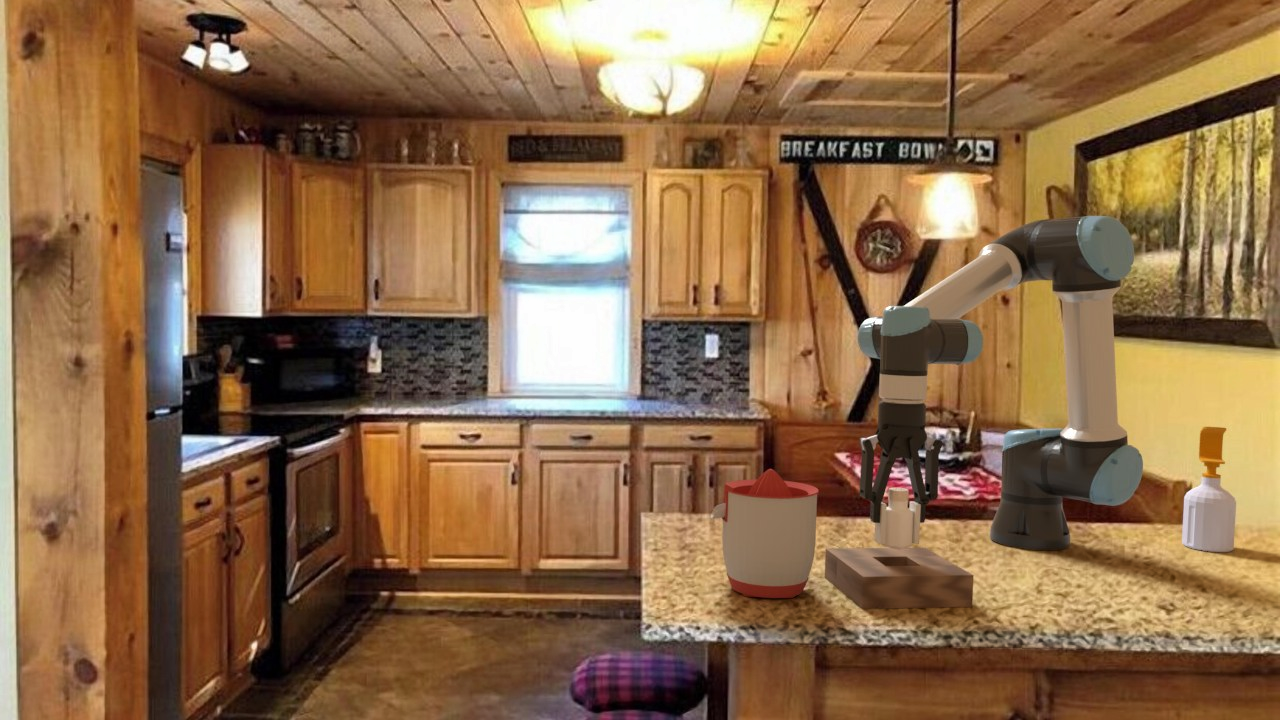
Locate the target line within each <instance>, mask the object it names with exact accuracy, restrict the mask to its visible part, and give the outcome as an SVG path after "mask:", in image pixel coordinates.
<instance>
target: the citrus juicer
mask: <svg viewBox="0 0 1280 720" xmlns="http://www.w3.org/2000/svg"><path fill="white" fill-rule="evenodd" d="M723 491H724V493H723V503H721V504H717V505H716V506H714V507H713V510H712V512H711V514H710V519H711V520H714V519H721V520H722V532H721V535H722V537H721V538H722V540H721V542H722V553H723V554H722V555H723V561H724V566H725V569H726V577H727V578H728V581H729V584H730V586H731V588H732V589H733V590H734V591H736V592H737V593H740V594H742V595H743V596H744V597H749V598H753V597H756V598H765V599H780V598H781V599H793V598H795V597H796V596H799V595H801V594H802V593H803V591H804V590H805V588H806V585H807V583H808V582H809V576H810V573H811V570H812V568H813V567H812V566H813V562H814V557H815V553H816V552H815V551H816V541H817V539H816V536H817V535H816V533H817V506H818V505H817V504H818V503H817V502H818V494H819V493H820V491H819V489H818V488H817V487H816V486H814V485H810V484H806V483H803V482H798V481H796V482H795V481H789V480H784V479H783V478H782V477H781V476H780V474H778V472H777V471H776V470H774V469H772V468H769V469H766V470H765V472H763V473H762V474H761V475H760V476H759V477H758V479H757V478H756V479H742V480H741V479H739V480H733V481H728V482H726V483H724V490H723Z"/></svg>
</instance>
